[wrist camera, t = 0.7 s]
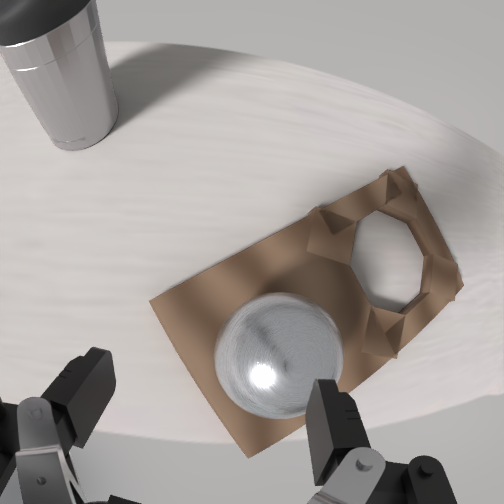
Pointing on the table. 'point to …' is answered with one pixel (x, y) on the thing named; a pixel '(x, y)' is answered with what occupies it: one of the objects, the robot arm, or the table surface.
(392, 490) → the robot arm
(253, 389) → the steel ball
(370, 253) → the table surface
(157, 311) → the wooden board
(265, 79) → the table surface
